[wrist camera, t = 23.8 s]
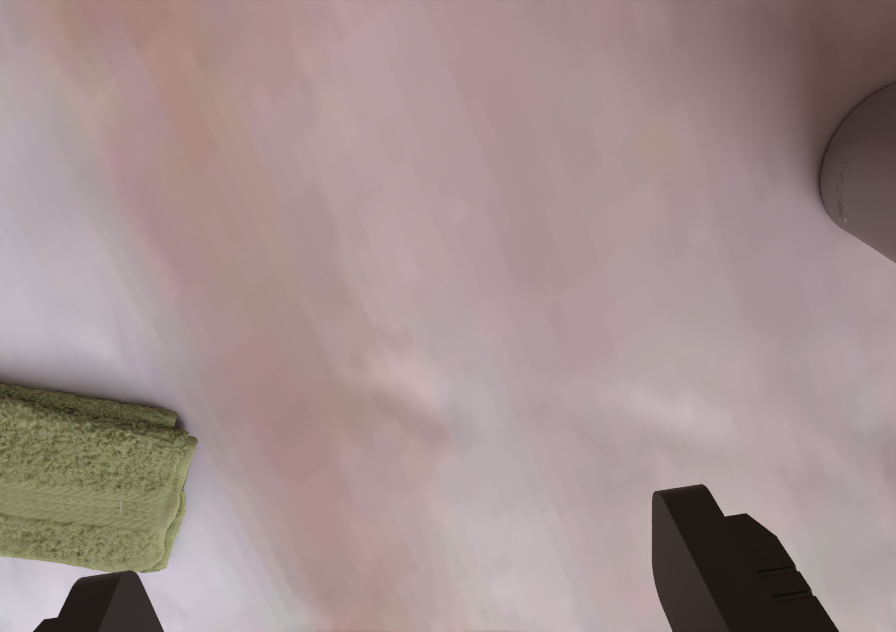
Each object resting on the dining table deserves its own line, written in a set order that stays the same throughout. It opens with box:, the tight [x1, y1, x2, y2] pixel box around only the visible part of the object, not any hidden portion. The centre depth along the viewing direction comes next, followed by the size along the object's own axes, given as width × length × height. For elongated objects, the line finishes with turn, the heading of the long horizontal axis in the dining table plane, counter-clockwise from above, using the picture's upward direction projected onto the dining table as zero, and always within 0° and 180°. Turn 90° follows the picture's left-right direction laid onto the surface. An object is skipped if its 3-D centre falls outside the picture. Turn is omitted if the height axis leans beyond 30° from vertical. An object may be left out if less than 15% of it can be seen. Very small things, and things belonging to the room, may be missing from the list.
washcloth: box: [0, 383, 198, 573], centre depth 45 cm, size 13×18×3 cm
